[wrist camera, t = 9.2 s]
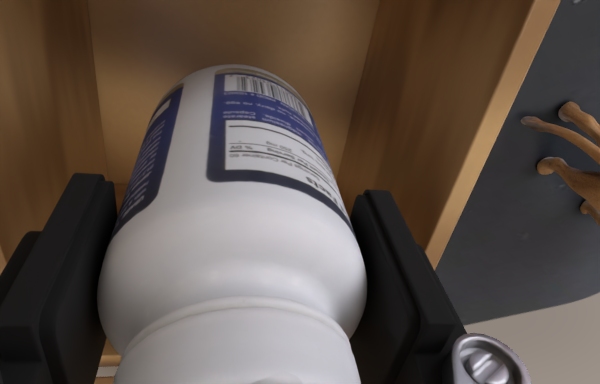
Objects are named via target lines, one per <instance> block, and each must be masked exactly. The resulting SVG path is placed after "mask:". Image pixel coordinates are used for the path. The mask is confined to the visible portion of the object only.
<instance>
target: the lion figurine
mask: <svg viewBox="0 0 600 384" xmlns="http://www.w3.org/2000/svg"><path fill="white" fill-rule="evenodd" d="M558 114H559V117H560V118H561V119H562V120H563V121H565V122H571V121H572V122H573V123H574V124H575V125H576V126H577V127H578V128H580V129H581V130H582V131H584V132H585V133H587V134H588V135H589V136H590V137H591V138H593V139H594V140H595V142H596V143H597V144H598V146H599V147H598V146H596V145H595V144H593V143H592V142H590V141H589V140H587V139H586V138H584V137H583V136H581V135H580V134H578V133H576V132H574V131H572V130H569V129H566V128H564V127H561V126H558V125H555V124H550V123H546V122H544V121H541V120H540V119H538V118H537V117H530V116H526V117H523V118H522V119H521V123H522V124H523V125H525V126H528V127H530V128H532V129H533V130H535V131H543V132H549V133H553V134H556V135H559V136H561V137H563V138H565V139H567V140H568V141H570V142H572V143H573V144H575V145H576V146H578V147H579V148H581V149H582V150H583V151H585V152H586V153H587V154H589V155H590V156H591V157H592V158H593V159H594V160H595V161H596V162H597V163H598V164H599V165H600V125H599V124H598V123H597V122H596V120H595V119H594V118H593V117H592V116H590V115H589V114H586V113H584V112H582V111H581V110H580V108H579V106H578V105H577V104H575V103H573V102H568V103H566V104H565V105H563V106H562V107H561V108H560V110H559V113H558ZM537 171H538V172H539V173H540V174H545V175H548V174H551V173H553V172H554V171H555V172H556V173H558V174H559V175H560V176H561V177H562V178H563V179H564V181H565V182H566V183H567V184H568V185H569V186H570V188H571V189H572V190H573V191H575V192H576V193H577V194H579V195H580V196H582V197H583V198H584V199H586V201H584V202H583V204H582V205H581V207H580V210H581V212H582V213H584V214H587V213H590V214H591V216H592V217H593V218H594V220H595V221H596V222H597V224H598V225H599V226H600V173H599V172H593V171H581V170H578V169H575V168H572V167H569V166H568V165H567V164H566V162H565V161H564V160H563V159H561V158H559V157H555V158H554V157H547V158H544V159H542V160H541V161H540V162H539V163H538V165H537Z"/></svg>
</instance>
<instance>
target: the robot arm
mask: <svg viewBox="0 0 600 384" xmlns="http://www.w3.org/2000/svg"><path fill="white" fill-rule="evenodd" d="M117 217H118V215H117V206H116V197H115V187H114V183H113V182H112V181H105V177H104V175H103V174H89V173H74V174H73V176H72V177H71V179H70V181H69V183H68V184H67V186H66V188H65V190H64V192H63V194H62V195H61V197H60V199H59V201H58V203H57V204H56V206H55V208H54V210H53V212H52V214H51V215H50V217H49V219H48V221H47V223H46V224H45V226H44V228H43V230H42V231H29V232H27V233H26V234H25V235H24V237H23V238H22V239H21V241H20V243H19V244H18V246H17V248H16V249H15V251H14V253H13V254H12V256H11V258H10V259H9V261H8V263H7V265H6V266H5V268H4V270H3V271H2V273H1V275H0V384H94V382H95V378H96V374H97V370H98V367H99V364H100V360H101V356H102V353H103V349H104V346H105V342H106V338H107V336H106V334H105V332H104V330H103V328H102V325H101V322H100V319H99V314H98V307H97V287H98V280H99V276H100V272H101V268H102V263H103V260H104V257H105V252H106V249H107V246H108V243H109V240H110V237H111V235H112V232H113V229H114V226H115V223H116V220H117ZM350 223H351V225H352V228H353V231H354V233H355V236H356V240H357V243H358V246H359V248H360V252H361V255H362V257H363V261H364V265H365V269H366V275H367V283H368V284H367V300H366V305H365V309H364V312H363V315H362V317H361V320H360V322H359V324H358V326H357V328H356V330H355V332H354V334H353V335H352V337H351V338H350V339H349V342H350V345H351V351H352V353H353V355H354V358H355V362H356V365H357V369H358V373H359V377H360V381H361V384H532V383H531V380H530V377H529V374H528V371H527V369H526V367H525V365H524V363H523V362H522V361H521V360H520V358H519V357H518V356H517V354H516V353H514V352H513V351H512V350H511V349H510V348H509V347H508V346H507V345H505V344H503V343H502V342H500V341H499V340H497V339H495V338H492V337H490V336H487V335H484V334H477V333H470V334H467V332H466V331H465V329H464V327H463V325H462V323H461V321H460V319H459V317H458V315H457V313H456V311H455V309H454V307H453V305H452V303H451V302H450V300H449V298H448V296H447V294H446V292H445V290H444V288H443V286H442V284H441V282H440V280H439V278H438V276H437V275H436V273H435V271H434V269H433V267H432V265H431V263H430V261H429V259H428V257H427V255H426V253H425V251H424V250H423V248H422V247H421V246H420V245H419V244H417V243H416V242H415V240H414V238H413V236H412V234H411V232H410V230H409V228H408V226H407V224H406V222H405V220H404V218H403V216H402V214H401V212H400V210H399V208H398V206H397V204H396V202H395V200H394V198H393V196H392V194H391V193H390V192H389V191H387V190H370V189H367V190H365V191H364V193H363V195H357V196H356V199H355V202H354V205H353V209H352V212H351V216H350Z"/></svg>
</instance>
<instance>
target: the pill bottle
mask: <svg viewBox="0 0 600 384" xmlns="http://www.w3.org/2000/svg"><path fill="white" fill-rule="evenodd" d="M367 284H368V283H367V275H366V269H365V265H364V261H363V257H362V255H361V252H360V248H359V246H358V243H357V240H356V236H355V233H354V231H353V228H352V225H351V223H350V219H349V217H348V214H347V212H346V209H345V207H344V204H343V201H342V198H341V195H340V192H339V189H338V186H337V183H336V181H335V178H334V175H333V172H332V169H331V167H330V164H329V161H328V158H327V155H326V152H325V149H324V147H323V144H322V141H321V138H320V135H319V132H318V129H317V127H316V124H315V121H314V119H313V116H312V114H311V112H310V110H309V108H308V106H307V104H306V103H305V101H304V100H303V98H302V97H301V96H300V95H299V94H298V92H297V91H296V90H295V89H294V88H293V87H292V86H290V85H289V84H288V83H287V82H285V81H284V80H282V79H281V78H279V77H278V76H276V75H274V74H272V73H270V72H268V71H265V70H263V69H260V68H256V67H252V66H248V65H239V64H225V65H217V66H211V67H208V68H204V69H201V70H198V71H196V72H194V73H192V74H190V75H188V76H186V77H184V78H183V79H182V80H180V81H179V82H177V83H176V84H175V85H174V86H173V87H172V88H171V89H170V90H169V91H168V92H167V93H166V94H165V95H164V96H163V97H162V99H161V100H160V101H159V103H158V105H157V107H156V108H155V110H154V112H153V114H152V117H151V119H150V121H149V124H148V127H147V130H146V133H145V136H144V139H143V142H142V145H141V148H140V151H139V154H138V157H137V160H136V163H135V166H134V169H133V172H132V175H131V178H130V181H129V184H128V187H127V190H126V193H125V196H124V199H123V202H122V205H121V208H120V211H119V214H118V217H117V220H116V223H115V226H114V229H113V232H112V235H111V237H110V240H109V243H108V246H107V249H106V252H105V257H104V260H103V263H102V268H101V272H100V276H99V280H98V287H97V307H98V314H99V319H100V322H101V325H102V328H103V330H104V332H105V334H106V336H107V338H108V340H109V342H110V343H111V345H112V346H113V348H114V349H115V350H116V351H117V352H118V353H119V355H120V356H121V361H120V365H119V367H118V369H117V371H116V374H115V376H114V381H113V384H361V381H360V377H359V373H358V369H357V365H356V362H355V358H354V355H353V353H352V351H351V345H350V342H349V339H350V338H351V337H352V335H353V334H354V332H355V330H356V328H357V326H358V324H359V322H360V320H361V317H362V315H363V312H364V309H365V305H366V300H367Z"/></svg>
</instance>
